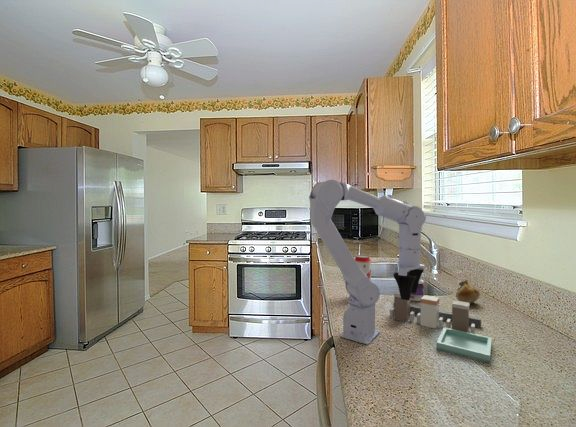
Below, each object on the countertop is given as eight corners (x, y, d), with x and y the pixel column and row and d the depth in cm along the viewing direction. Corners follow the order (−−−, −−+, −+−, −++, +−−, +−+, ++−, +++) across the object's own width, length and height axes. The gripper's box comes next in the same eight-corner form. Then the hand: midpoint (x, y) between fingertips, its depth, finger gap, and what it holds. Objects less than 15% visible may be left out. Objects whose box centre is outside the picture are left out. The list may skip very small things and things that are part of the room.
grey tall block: (436, 328, 87) (436, 301, 86) (420, 325, 89) (420, 298, 89) (438, 323, 90) (439, 297, 90) (423, 320, 93) (423, 294, 92)
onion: (451, 303, 108) (451, 281, 108) (459, 298, 114) (459, 277, 113) (475, 308, 103) (475, 285, 102) (482, 303, 108) (482, 281, 108)
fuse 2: (467, 335, 82) (468, 306, 82) (451, 331, 84) (452, 303, 84) (469, 330, 85) (469, 302, 85) (453, 327, 88) (454, 300, 87)
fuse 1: (406, 321, 92) (407, 295, 91) (393, 318, 94) (394, 293, 94) (410, 317, 95) (410, 292, 94) (397, 315, 97) (397, 290, 97)
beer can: (373, 297, 115) (374, 255, 114) (365, 301, 110) (366, 258, 109) (358, 294, 119) (359, 254, 118) (350, 297, 114) (351, 256, 114)
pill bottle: (426, 301, 110) (426, 275, 109) (411, 301, 110) (411, 275, 110) (420, 296, 115) (420, 271, 115) (405, 296, 115) (406, 271, 115)
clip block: (478, 336, 81) (479, 328, 81) (386, 316, 96) (386, 308, 96) (481, 325, 89) (481, 317, 89) (395, 307, 103) (395, 301, 103)
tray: (489, 363, 68) (489, 355, 68) (436, 349, 74) (436, 342, 74) (491, 344, 77) (491, 337, 77) (443, 333, 83) (444, 327, 83)
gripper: (418, 253, 76) (417, 305, 77) (430, 246, 88) (429, 291, 89) (390, 250, 81) (390, 300, 81) (405, 244, 92) (404, 288, 93)
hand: (408, 295), depth 85 cm, fingers open, 7 cm apart
